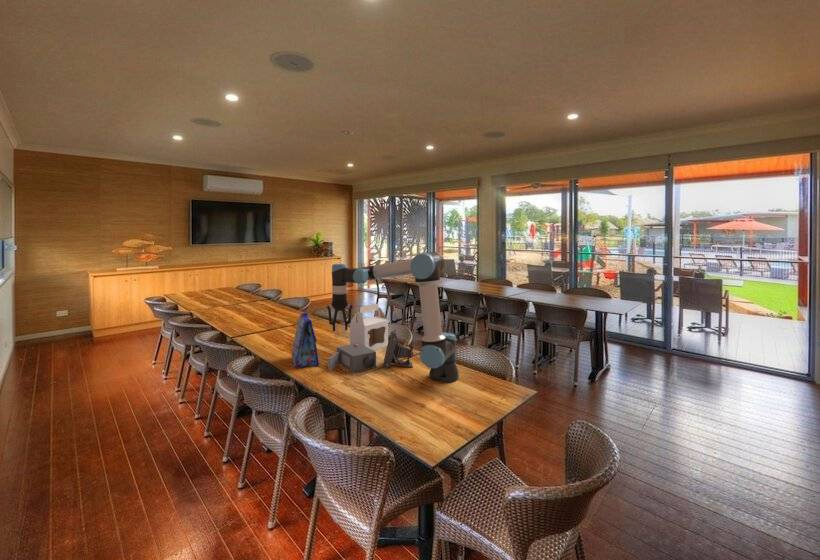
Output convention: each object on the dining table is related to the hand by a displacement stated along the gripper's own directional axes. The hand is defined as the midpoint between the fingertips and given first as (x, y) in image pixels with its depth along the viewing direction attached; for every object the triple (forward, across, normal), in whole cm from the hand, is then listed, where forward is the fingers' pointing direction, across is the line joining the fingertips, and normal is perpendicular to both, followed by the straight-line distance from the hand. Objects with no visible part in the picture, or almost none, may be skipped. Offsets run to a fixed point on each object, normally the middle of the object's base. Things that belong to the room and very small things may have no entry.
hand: (340, 336), depth 206 cm
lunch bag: (+19, +18, -20) cm, 33 cm away
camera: (+19, -32, -1) cm, 37 cm away
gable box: (+19, -22, -38) cm, 47 cm away
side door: (+17, +3, -4) cm, 18 cm away
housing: (+19, -9, -6) cm, 22 cm away
